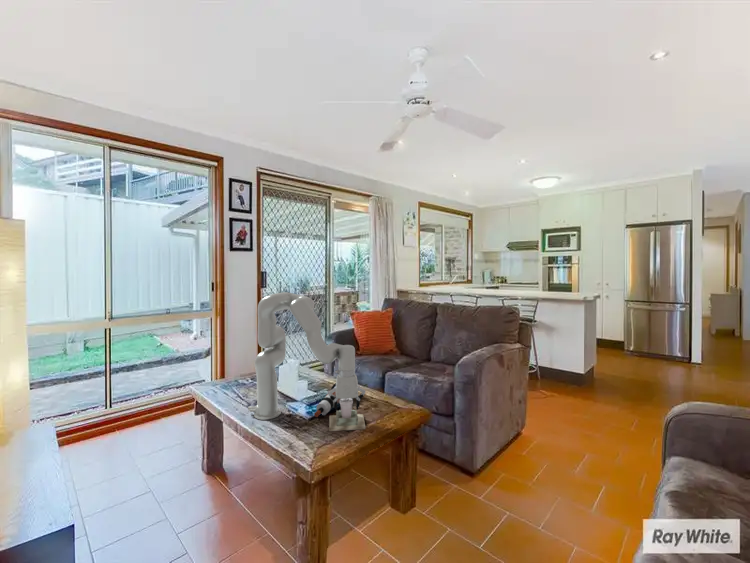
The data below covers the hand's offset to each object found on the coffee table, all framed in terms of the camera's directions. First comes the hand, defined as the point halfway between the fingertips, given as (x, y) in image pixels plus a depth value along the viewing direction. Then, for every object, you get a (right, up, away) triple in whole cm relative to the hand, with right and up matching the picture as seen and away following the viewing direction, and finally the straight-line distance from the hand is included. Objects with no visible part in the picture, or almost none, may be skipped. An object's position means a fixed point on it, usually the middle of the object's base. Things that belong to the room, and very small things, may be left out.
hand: (346, 409), depth 164 cm
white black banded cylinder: (-9, -6, +20) cm, 23 cm away
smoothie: (0, -6, 0) cm, 6 cm away
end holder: (0, -7, 0) cm, 7 cm away
